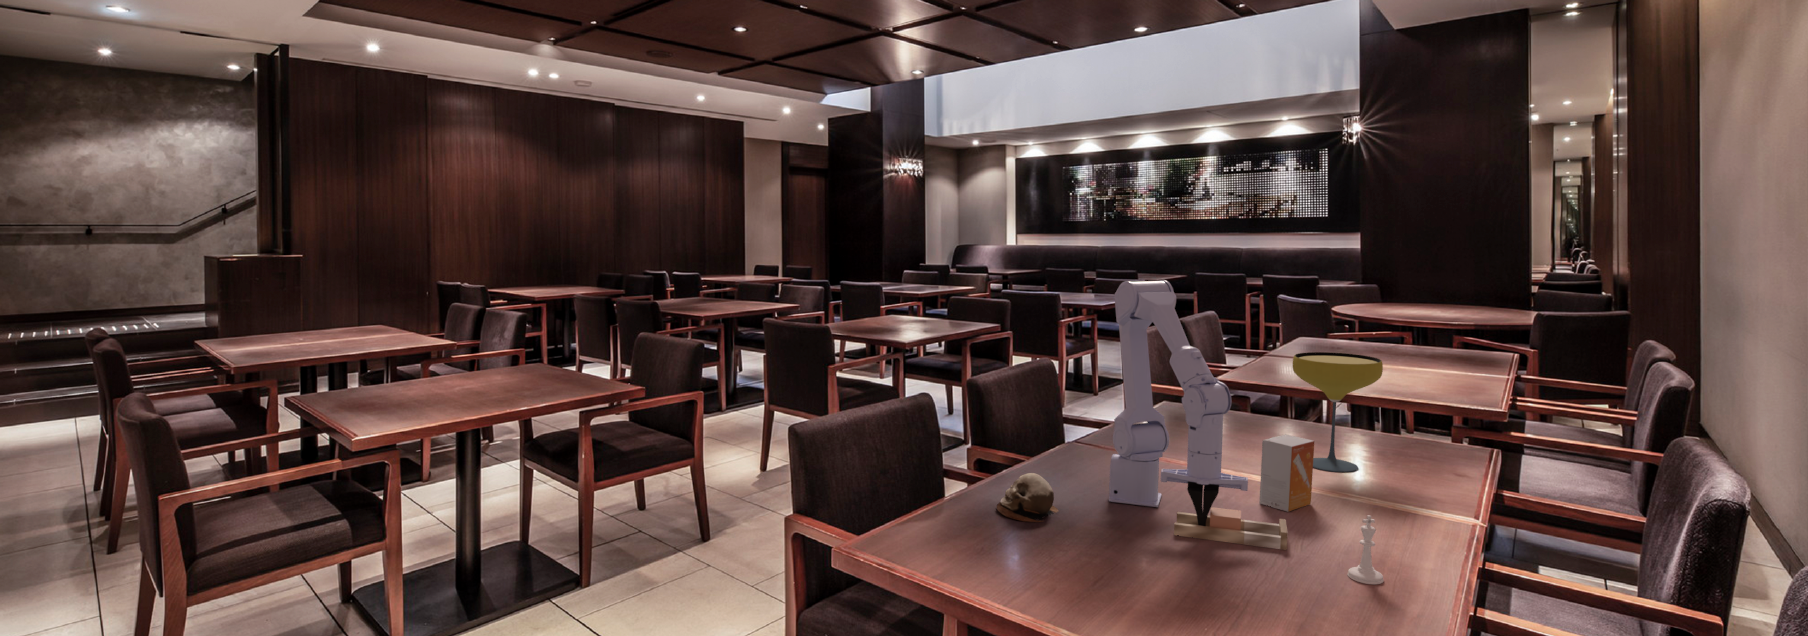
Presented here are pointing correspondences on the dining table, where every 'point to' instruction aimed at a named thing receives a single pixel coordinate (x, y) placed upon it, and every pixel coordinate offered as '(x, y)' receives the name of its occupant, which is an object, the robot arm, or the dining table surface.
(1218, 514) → the block
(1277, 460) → the small box
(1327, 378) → the cocktail glass
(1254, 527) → the chute
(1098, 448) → the dining table surface
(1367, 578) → the chess piece
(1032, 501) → the skull
